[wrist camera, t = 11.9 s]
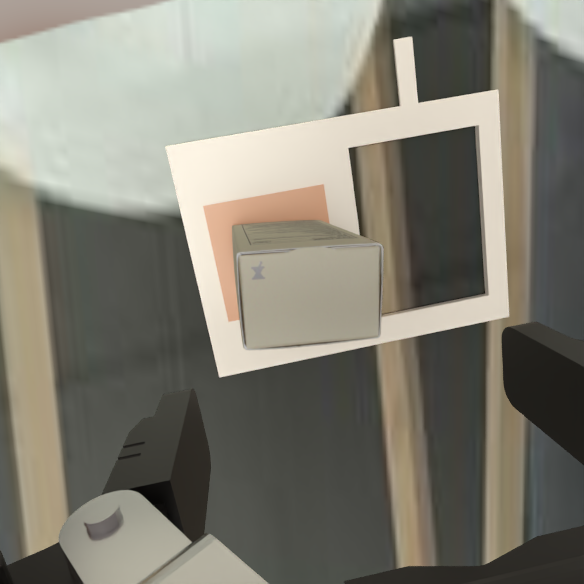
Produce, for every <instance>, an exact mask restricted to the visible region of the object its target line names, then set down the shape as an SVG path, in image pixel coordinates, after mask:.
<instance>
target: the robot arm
mask: <svg viewBox="0 0 584 584" xmlns="http://www.w3.org/2000/svg"><path fill="white" fill-rule="evenodd" d="M502 357H503V381H504V389H505V392H506V395H507V397H508V399H509V401H510V403H511V404H512V405H513V407H515V408H516V409H517V410H518V411H519V412H520V413H522V414H523V415H524V416H525V417H526V418H528V419H529V420H530V421H531V422H532V423H534V424H535V425H536V426H537V427H538V428H540V429H541V430H542V431H543V432H545V433H546V434H547V435H548V436H549V437H551V438H552V439H553V440H554V441H555V442H557V443H558V444H559V445H560V446H561V447H563V448H564V449H565V450H566V451H567V452H569V453H570V454H571V455H572V456H573V457H575V458H576V459H577V460H578V461H579V462H581V463H582V464H583V465H584V341H581V340H577V339H573V338H570V337H568V336H565V335H563V334H561V333H559V332H557V331H555V330H553V329H551V328H549V327H547V326H545V325H542V324H540V323H538V322H531V323H526V324H521V325H516V326H511V327H507V328H505V329H504V331H503V333H502ZM210 472H211V461H210V452H209V446H208V441H207V437H206V433H205V429H204V425H203V420H202V416H201V412H200V408H199V404H198V400H197V396H196V393H195V391H194V389H188V390H183V391H178V392H173V393H168V394H163V395H162V397H161V400H160V403H159V405H158V408H157V411H156V414H155V416H153V417H148V418H143V419H142V420H141V421H140V422H139V423H138V424H137V425H136V426H135V427H134V428H133V429H132V430H131V431H130V432H129V434H128V436H127V438H126V441H125V443H124V445H123V449H122V450H121V452H120V454H119V457H118V461H116V463H115V466H114V468H113V470H112V472H111V475H110V477H109V479H108V481H107V484H106V486H105V488H104V490H103V493H102V495H101V496H99V497H97V498H95V499H93V500H91V501H89V502H88V503H86V504H84V505H83V506H82V507H80V508H79V509H78V510H76V511H75V512H74V513H73V514H72V515H71V516H70V517H69V518H68V519H67V521H66V522H65V523H64V525H63V526H62V529H61V531H60V534H59V542H58V543H56V544H55V545H52V546H50V547H48V548H46V549H44V550H42V551H39V552H37V553H35V554H32V555H30V556H28V557H26V558H23V559H21V560H19V561H16V562H14V563H12V564H9V565H6V562H5V560H4V557H3V555H2V553H1V551H0V584H268V583H267V582H266V581H265V580H264V579H263V578H261V577H260V576H259V575H258V574H257V573H256V572H254V571H253V570H252V569H251V568H250V567H249V566H248V565H246V564H245V563H244V562H243V561H242V560H241V559H239V558H238V557H237V556H236V555H235V554H234V553H232V552H231V551H230V550H229V549H228V548H227V547H226V546H224V545H223V544H222V543H221V542H220V541H219V540H217V539H216V538H215V537H214V536H212V535H210V534H208V533H205V534H204V530H205V520H206V510H207V501H208V491H209V481H210ZM344 582H345V584H584V526H581V527H576V528H572V529H568V530H563V531H559V532H555V533H550V534H546V535H542V536H537V537H535V538H533V539H532V540H530V541H528V542H526V543H524V544H523V545H521V546H519V547H517V548H515V549H513V550H512V551H510V552H508V553H506V554H504V555H502V556H501V557H499V558H497V559H495V560H493V561H492V562H490V563H488V564H485V565H482V566H408V567H403V568H399V569H395V570H390V571H386V572H382V573H378V574H373V575H369V576H365V577H360V578H356V579H352V580H347V581H344Z"/></svg>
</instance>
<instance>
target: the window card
mask: <svg viewBox="0 0 584 584" xmlns="http://www.w3.org/2000/svg"><path fill="white" fill-rule="evenodd" d="M393 47H394V57H395V67H396V77H397V87H398V97H399V106H398V107H392V108H386V109H380V110H375V111H369V112H363V113H357V114H351V115H345V116H339V117H333V118H328V119H322V120H316V121H310V122H304V123H298V124H292V125H286V126H281V127H275V128H269V129H263V130H257V131H251V132H245V133H240V134H234V135H228V136H222V137H216V138H210V139H204V140H198V141H193V142H187V143H181V144H175V145H169V146H165V147H166V151H167V156H168V160H169V164H170V168H171V173H172V177H173V181H174V185H175V190H176V194H177V198H178V203H179V207H180V211H181V215H182V220H183V224H184V228H185V233H186V237H187V241H188V245H189V250H190V254H191V258H192V262H193V267H194V271H195V275H196V280H197V284H198V288H199V292H200V297H201V301H202V305H203V309H204V314H205V318H206V322H207V327H208V331H209V335H210V339H211V344H212V348H213V352H214V356H215V361H216V365H217V369H218V374H219V377H224V376H228V375H233V374H238V373H243V372H248V371H252V370H257V369H262V368H267V367H271V366H276V365H281V364H286V363H291V362H295V361H300V360H305V359H310V358H314V357H319V356H324V355H329V354H333V353H338V352H343V351H348V350H353V349H357V348H362V347H367V346H372V345H376V344H381V343H386V342H391V341H396V340H400V339H405V338H410V337H415V336H419V335H424V334H429V333H434V332H439V331H443V330H448V329H453V328H458V327H462V326H467V325H472V324H477V323H481V322H486V321H491V320H496V319H501V318H505V317H509V303H508V282H507V261H506V240H505V219H504V198H503V177H502V156H501V135H500V114H499V93H498V90H492V91H486V92H480V93H474V94H468V95H463V96H457V97H451V98H445V99H439V100H433V101H427V102H421V103H418V96H417V85H416V74H415V64H414V53H413V42H412V37H407V38H401V39H395V40H393ZM471 126H475V137H476V153H477V169H478V185H479V202H480V218H481V234H482V250H483V267H484V283H485V294H481V295H476V296H471V297H466V298H462V299H457V300H452V301H447V302H442V303H437V304H432V305H427V306H422V307H418V308H413V309H408V310H403V311H398V312H393V313H388V314H383V315H382V318H381V335H380V337H379V338H375V339H367V340H360V341H352V342H345V343H336V344H327V345H317V346H308V347H297V348H285V349H270V350H246V349H244V348H243V343H242V336H241V328H240V320H239V311H238V303H237V293H236V283H235V273H234V260H233V243H232V226H233V225H240V224H250V223H263V222H278V221H297V220H321V221H324V222H326V223H329V224H331V225H334V226H337V227H339V228H342V229H344V230H347V231H350V232H352V233H355V234H357V235H360V233H359V225H358V218H357V210H356V203H355V195H354V188H353V180H352V173H351V165H350V157H349V150H348V148H352V147H357V146H363V145H369V144H374V143H380V142H386V141H391V140H397V139H403V138H409V137H414V136H420V135H426V134H431V133H437V132H443V131H448V130H454V129H460V128H465V127H471Z"/></svg>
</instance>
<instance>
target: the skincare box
mask: <svg viewBox="0 0 584 584" xmlns="http://www.w3.org/2000/svg"><path fill="white" fill-rule="evenodd" d="M232 243H233V260H234V273H235V283H236V293H237V303H238V311H239V320H240V328H241V336H242V343H243V348H244V349H246V350H270V349H285V348H297V347H308V346H317V345H327V344H336V343H345V342H352V341H360V340H367V339H375V338H379V337H380V335H381V318H382V299H383V263H384V248H383V245H382V244H380V243H379V242H376V241H373V240H371V239H368V238H365V237H363V236H360V235H357V234H355V233H352V232H350V231H347V230H344V229H342V228H339V227H337V226H334V225H331V224H329V223H326V222H324V221H321V220H297V221H278V222H263V223H250V224H240V225H233V226H232Z"/></svg>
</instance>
